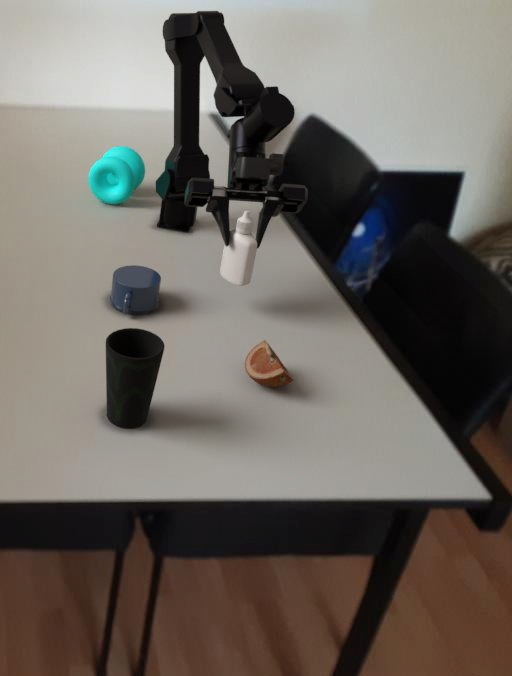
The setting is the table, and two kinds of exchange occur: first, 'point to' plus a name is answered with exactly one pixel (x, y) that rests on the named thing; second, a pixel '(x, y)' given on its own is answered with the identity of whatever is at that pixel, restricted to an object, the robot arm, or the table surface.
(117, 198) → the donuts
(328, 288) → the table surface
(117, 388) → the cup
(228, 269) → the eye dropper bottle
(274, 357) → the fruit slice
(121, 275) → the blue mug
